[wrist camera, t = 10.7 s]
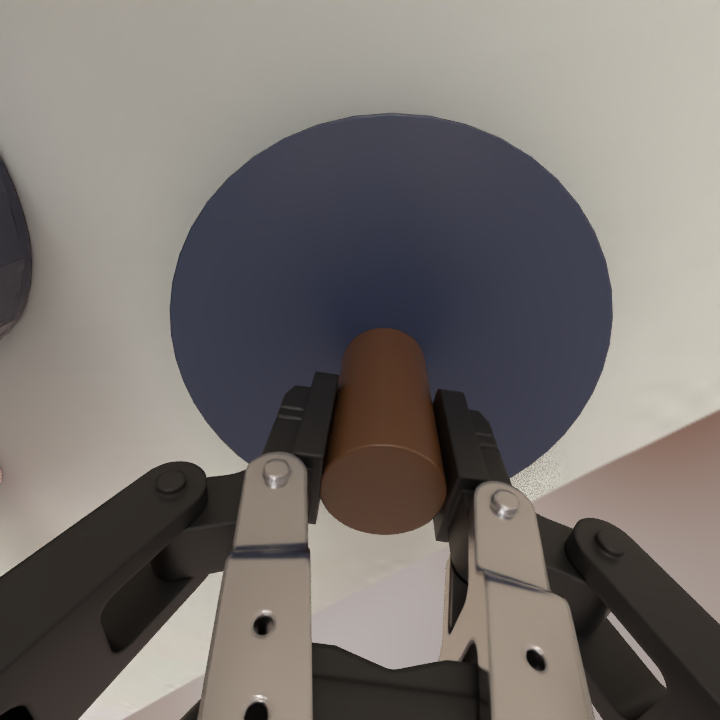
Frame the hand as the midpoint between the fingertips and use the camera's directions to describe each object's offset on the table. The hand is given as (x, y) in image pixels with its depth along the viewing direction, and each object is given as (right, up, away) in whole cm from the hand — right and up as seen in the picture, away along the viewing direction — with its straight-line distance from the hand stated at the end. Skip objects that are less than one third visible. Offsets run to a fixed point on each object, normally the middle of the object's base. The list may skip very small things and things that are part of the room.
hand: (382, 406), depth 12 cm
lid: (0, +2, +3) cm, 3 cm away
